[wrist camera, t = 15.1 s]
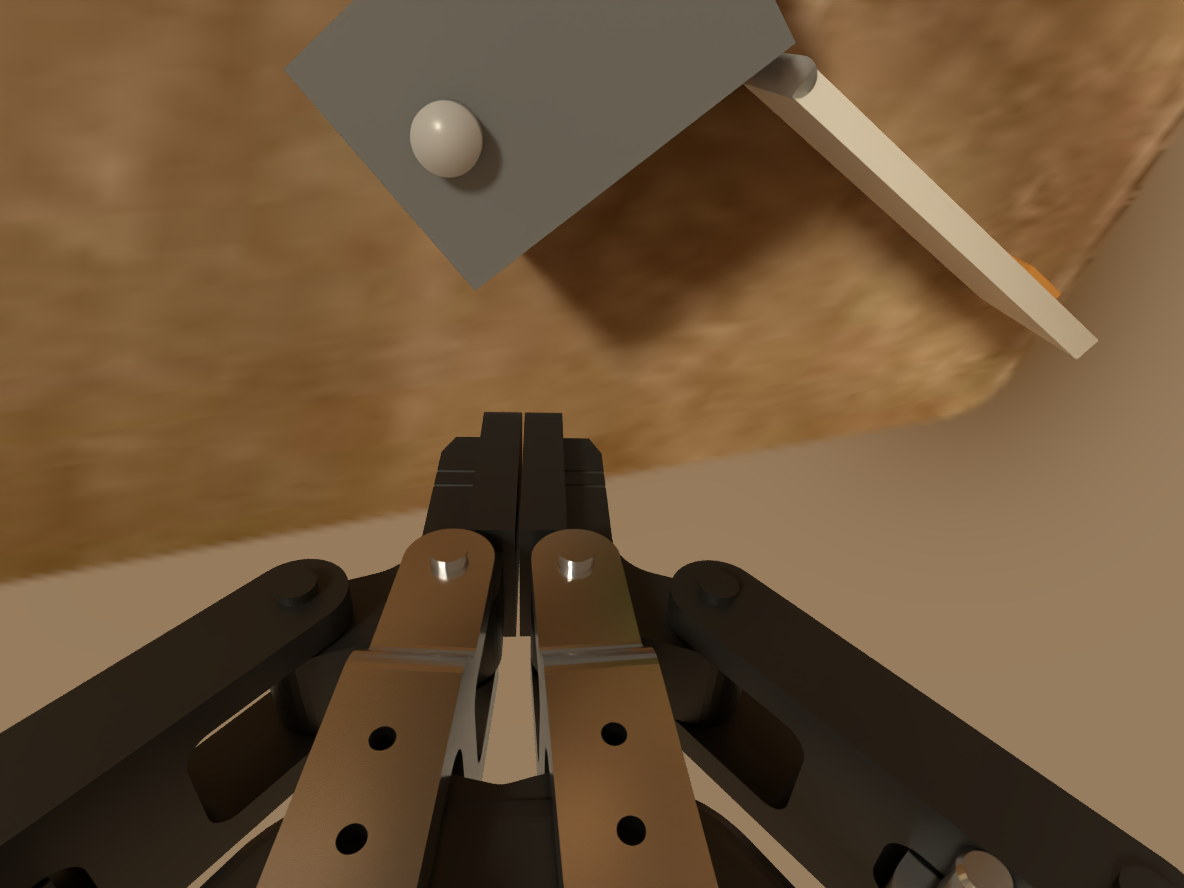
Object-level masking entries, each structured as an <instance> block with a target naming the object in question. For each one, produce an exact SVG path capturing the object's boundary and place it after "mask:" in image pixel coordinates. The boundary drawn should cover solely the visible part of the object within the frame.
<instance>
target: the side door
mask: <svg viewBox="0 0 1184 888" xmlns="http://www.w3.org/2000/svg"><path fill="white" fill-rule="evenodd" d="M743 85H744V86H746V87H747V88H748V89H749V90H750V91H751V92H752V93H753V94H754V95H756V96H757V97H758V98H759V99H760V100H761V101H762V102H763V103H764V104H765V105H767V106H768V107H769V108H770V109H771V110H772V111H773V112H774V113H775V114H777V115H778V116H779V117H780V118H781V119H782V120H783V121H784V122H785V123H787V124H788V125H789V126H790V127H791V128H792V129H793V130H794V131H795V132H797V133H798V134H799V135H800V136H801V137H802V138H803V139H804V140H805V141H807V142H808V143H809V144H810V145H811V146H812V147H813V148H814V149H815V150H817V151H818V152H819V153H820V154H821V155H822V156H823V157H824V158H825V159H827V160H828V161H829V162H830V163H831V164H832V165H833V166H834V167H835V168H837V169H838V170H839V171H840V172H841V173H842V174H843V175H844V176H845V177H846V178H848V179H849V180H850V181H851V182H852V183H853V184H854V185H855V186H856V187H858V188H859V189H860V190H861V191H862V192H863V193H864V194H865V195H866V196H868V197H869V198H870V199H871V200H872V201H873V202H874V203H875V204H876V205H878V206H879V207H880V208H881V209H882V210H883V211H884V212H885V213H886V214H888V215H889V216H890V217H891V218H892V219H893V220H894V221H895V222H896V223H898V224H899V225H900V226H901V227H902V228H903V229H904V230H905V231H906V232H908V233H909V234H910V235H911V236H912V237H913V238H914V239H915V240H916V241H917V242H919V243H920V244H921V245H922V246H923V247H924V248H925V249H926V250H927V251H929V252H930V253H931V254H932V255H933V256H934V257H935V258H936V259H937V260H939V261H940V262H941V263H942V264H943V265H944V266H945V267H946V268H947V269H949V270H950V271H951V272H952V273H953V274H954V275H955V276H956V277H957V278H959V279H960V280H961V281H962V282H963V283H964V284H965V285H966V286H967V287H969V288H970V289H971V290H972V291H973V292H974V293H975V294H976V295H977V296H979V297H980V298H981V299H982V300H984V301H985V302H987V303H988V304H990V305H992V306H993V307H995V308H996V309H998V310H999V311H1001V312H1003V313H1004V314H1006V315H1007V316H1009V317H1010V318H1012V319H1014V320H1015V321H1017V322H1018V323H1020V324H1021V325H1023V326H1025V327H1026V328H1028V329H1029V330H1031V331H1032V332H1034V333H1035V334H1037V335H1039V336H1040V337H1042V338H1043V339H1045V340H1046V341H1048V342H1050V343H1051V344H1053V345H1054V346H1056V347H1057V348H1059V349H1061V350H1062V351H1064V352H1065V353H1067V354H1068V355H1070V356H1072V357H1073V358H1075V359H1076V360H1077V359H1078V358H1079V357H1080V356H1082V355H1083V354H1084V353H1085V352H1086V351H1087V350H1088V349H1090V348H1091V347H1092V346H1093V345H1094V344H1095V343H1097V342H1098V339H1097V338H1096V337H1095V336H1094V335H1093V334H1092V333H1091V332H1090V331H1089V330H1088V329H1086V328H1085V327H1084V326H1083V325H1082V324H1081V323H1080V322H1079V321H1078V320H1077V319H1076V318H1075V317H1074V316H1073V315H1072V314H1071V313H1070V312H1069V311H1068V310H1067V309H1066V308H1065V307H1064V306H1063V305H1062V304H1060V303H1059V302H1058V301H1057V300H1056V299H1057V298H1058V297H1059V296H1060V295H1061V293H1060V292H1059V291H1058V290H1057V289H1056V288H1055V287H1054V286H1053V285H1052V284H1051V283H1050V282H1049V281H1048V280H1047V279H1046V278H1045V277H1044V276H1043V275H1042V274H1041V273H1040V272H1039V271H1038V270H1037V269H1036V268H1035V267H1034V266H1032V265H1030V264H1028V263H1026V262H1024V261H1022V260H1020V259H1018V258H1016V257H1014V256H1012V255H1010V254H1008V253H1007V252H1006V251H1005V250H1004V249H1003V248H1002V247H1001V246H1000V245H999V244H998V243H997V242H996V241H995V240H994V239H993V238H992V237H991V236H990V235H989V234H988V233H987V232H986V231H985V230H984V229H982V228H981V227H980V226H979V225H978V224H977V223H976V222H975V221H974V220H973V219H972V218H971V217H970V216H969V215H968V214H967V213H966V212H965V211H964V210H963V209H962V208H961V207H960V206H959V205H957V204H956V203H955V202H954V201H953V200H952V199H951V198H950V197H949V196H948V195H947V194H946V193H945V192H944V191H943V190H942V189H941V188H940V187H939V186H938V185H937V184H936V183H935V182H934V181H933V180H931V179H930V178H929V177H928V176H927V175H926V174H925V173H924V172H923V171H922V170H921V169H920V168H919V167H918V166H917V165H916V164H915V163H914V162H913V161H912V160H911V159H910V158H909V157H908V156H907V155H905V154H904V153H903V152H902V151H901V150H900V149H899V148H898V147H897V146H896V145H895V144H894V143H893V142H892V141H891V140H890V139H889V138H888V137H887V136H886V135H885V134H884V133H883V132H882V131H881V130H879V129H878V128H877V127H876V126H875V125H874V124H873V123H872V122H871V121H870V120H869V119H868V118H867V117H866V116H865V115H864V114H863V113H862V112H861V111H860V110H859V109H858V108H857V107H856V106H855V105H853V104H852V103H851V102H850V101H849V100H848V99H847V98H846V97H845V96H844V95H843V94H842V93H841V92H840V91H839V90H838V89H837V88H836V87H835V86H834V85H833V84H832V83H831V82H830V81H828V80H827V79H826V78H825V77H824V76H823V75H822V74H821V73H820V72H819V71H818V70H817V67H816V64H815V62H814V61H813V60H812V59H811V58H809V57H807V56H804V55H796V54H789V53H782V54H781V55H780V56H778V57H777V58H776V59H774V60H773V61H772V62H771V63H769V64H768V65H767V66H765V67H764V68H763V69H761V70H760V71H759V72H758V73H756V74H755V75H754V76H752V77H751V78H750V79H748V80H747V81H746V82H745V83H743Z"/></svg>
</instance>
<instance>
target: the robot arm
mask: <svg viewBox="0 0 1184 888" xmlns="http://www.w3.org/2000/svg"><path fill="white" fill-rule="evenodd" d="M603 472H604V470H603V462H602V454H601V453H600V451H599V450H598V449H597V448H596V447H595V445H594V444H593V443H592V442H591V441H590V439H580V438H563V422H562V413H526V412H525V423H524V444H523V464H522V413H518V412H484V416H483V423H482V430H481V436H480V437H456V438H455V439H454V440H453V441H452V442H451V443H450V444H449V445H448V446H447V447H446V448H445V449H444V450H443V451H442V452H441V457H440V461H439V465H438V473H437V474H436V478H435V483H434V487H433V491H432V496H431V500H430V504H429V509H428V513H427V517H426V522H425V526H424V531H423V535H422V537H420V538H419V539H417V540H415V541H414V542H413V543H412V544H411V545H410V546H409V547H408V548H407V550H406V551H405V553H404V556H403V558H402V561H401V563H400V564H399V565H397V566H395V567H393V568H391V569H388V570H386V571H383V572H380V573H376V574H372V575H368V576H364V577H360V578H355V579H351V580H348V579H347V576H346V574H345V572H344V571H343V570H342V569H341V568H340V567H339V566H337V565H335V564H333V563H331V562H328V561H325V560H319V559H303V560H297V561H291V562H288V563H285V564H282V565H279V566H277V567H275V568H273V569H271V570H269V571H267V572H265V573H264V574H262V575H260V576H259V577H257V578H256V579H254V580H252V581H251V582H249V583H247V584H246V585H244V586H242V587H241V588H239V589H237V590H236V591H234V592H232V593H231V594H229V595H227V596H226V597H224V598H223V599H221V600H219V601H218V602H216V603H214V604H213V605H211V606H209V607H208V608H206V609H204V610H203V611H201V612H199V613H198V614H196V615H195V616H193V617H191V618H190V619H188V620H186V621H185V622H183V623H181V624H180V625H178V626H176V627H175V628H173V629H171V630H170V631H168V632H167V633H165V634H163V635H162V636H160V637H159V638H157V639H155V640H153V641H152V642H150V643H148V644H147V645H145V646H143V647H142V648H140V649H138V650H137V651H135V652H134V653H132V654H130V655H129V656H127V657H125V658H124V659H122V660H120V661H119V662H117V663H115V664H114V665H113V666H111V667H109V668H107V669H106V670H104V671H103V672H101V673H99V674H97V675H96V676H94V677H92V678H91V679H89V680H87V681H86V682H84V683H82V684H81V685H79V686H78V687H76V688H74V689H73V690H71V691H69V692H68V693H66V694H65V695H63V696H61V697H59V698H58V699H56V700H55V701H53V702H51V703H49V704H48V705H46V706H45V707H43V708H41V709H40V710H38V711H36V712H35V713H33V714H31V715H30V716H28V717H26V718H25V719H23V720H21V721H20V722H18V723H16V724H15V725H13V726H12V727H10V728H8V729H7V730H5V731H3V732H2V733H0V888H187V887H188V886H189V885H190V884H191V883H192V882H193V881H195V880H196V879H197V878H198V877H199V876H200V875H201V874H203V873H204V872H205V871H206V870H207V869H208V868H209V867H210V866H212V865H213V864H214V863H215V862H216V861H217V860H218V859H219V858H221V857H222V856H223V855H224V854H225V853H226V852H227V851H229V850H230V849H231V848H232V847H233V846H234V845H235V844H236V843H238V841H240V840H241V839H242V838H243V837H244V836H245V835H247V834H248V833H249V832H250V831H251V830H252V829H253V828H254V827H256V826H257V825H258V824H259V823H260V822H261V821H262V820H264V819H265V818H266V817H267V816H268V815H269V814H270V813H271V812H273V811H274V810H275V809H276V808H277V807H278V806H279V805H280V804H282V803H283V802H284V801H285V800H286V799H287V798H288V797H290V796H291V795H292V794H293V793H294V794H293V796H292V799H291V801H290V804H289V806H288V809H287V811H286V814H285V816H284V818H282V819H281V820H279V821H278V822H276V823H274V824H273V825H271V826H270V827H268V828H266V829H265V830H264V831H263V832H261V833H260V834H259V835H257V836H256V837H255V838H254V839H252V840H251V841H250V842H248V843H247V844H246V845H245V846H244V847H243V848H241V849H240V850H239V851H238V852H237V853H236V854H235V855H234V856H233V857H232V858H231V859H230V860H229V861H227V862H226V864H224V865H223V866H222V867H221V868H220V869H219V870H218V871H217V872H216V873H215V874H214V875H213V876H211V877H210V878H209V879H208V880H207V881H206V882H205V883H204V884H203V885H202V886H201V887H200V888H795V887H794V886H793V885H792V884H791V883H790V882H789V881H788V880H787V879H786V878H785V877H784V876H783V874H782V873H781V872H780V871H779V870H778V869H777V868H776V867H775V866H774V865H773V864H772V863H771V862H770V861H769V860H768V859H767V858H766V857H765V856H764V855H763V854H762V853H761V852H760V850H759V849H758V848H757V847H756V846H755V845H754V844H753V843H752V842H751V841H750V840H749V839H748V838H747V837H746V836H745V835H744V834H743V833H742V832H741V831H740V830H739V829H738V828H736V827H735V826H734V825H733V824H731V823H730V822H729V821H728V820H727V819H725V818H724V817H723V816H722V815H720V814H719V813H717V812H716V811H714V810H713V809H711V808H710V807H708V806H706V805H705V804H703V803H701V802H699V801H697V800H695V797H694V794H693V790H692V786H691V782H690V778H689V775H688V771H687V768H686V763H685V759H684V756H683V752H684V753H685V754H687V756H688V757H690V758H691V759H692V760H693V761H694V762H695V763H696V764H697V765H698V766H699V767H700V768H701V769H702V770H703V771H704V772H705V773H706V774H707V775H708V776H709V777H710V778H712V779H713V780H714V781H715V782H716V783H717V784H718V785H719V786H720V787H721V788H722V789H723V790H724V791H725V792H726V793H727V794H728V795H730V796H731V798H732V799H734V800H735V801H736V802H737V803H738V804H739V805H740V806H741V807H742V808H743V809H744V810H745V811H746V812H747V813H748V814H749V815H750V816H752V818H754V820H756V821H757V822H758V823H759V824H760V825H761V826H762V827H763V828H764V829H765V830H766V831H767V832H768V833H769V834H770V835H771V836H772V837H773V838H774V839H776V841H777V842H779V843H780V844H781V845H782V846H783V847H784V848H785V849H786V850H787V851H788V852H789V853H790V854H791V855H792V856H793V857H794V858H795V859H796V860H797V861H798V862H799V863H801V864H802V865H803V866H804V867H805V868H806V869H807V870H808V871H809V872H810V873H811V874H812V875H813V876H814V877H815V878H816V879H817V880H818V881H819V882H820V883H821V884H823V885H824V886H825V887H826V888H1184V874H1183V873H1181V872H1180V871H1179V870H1178V869H1177V868H1176V867H1174V866H1173V865H1172V864H1170V863H1169V862H1167V861H1166V860H1165V859H1164V858H1162V857H1161V856H1159V855H1158V854H1156V853H1155V852H1153V851H1152V850H1150V849H1149V848H1147V847H1146V846H1144V845H1143V844H1142V843H1140V842H1139V841H1137V840H1136V839H1134V838H1133V837H1131V836H1130V835H1129V834H1127V833H1126V832H1124V831H1123V830H1121V829H1120V828H1118V827H1117V826H1115V825H1114V824H1113V823H1111V822H1110V821H1108V820H1107V819H1105V818H1104V817H1102V816H1101V815H1099V814H1098V813H1096V812H1095V811H1094V810H1092V809H1091V808H1089V807H1088V806H1086V805H1085V804H1083V803H1082V802H1080V801H1079V800H1078V799H1076V798H1075V797H1073V796H1072V795H1070V794H1069V793H1067V792H1066V791H1064V790H1063V789H1062V788H1060V787H1058V786H1057V785H1056V784H1054V783H1053V782H1051V781H1050V780H1048V779H1047V778H1046V777H1044V776H1042V775H1041V774H1040V773H1038V772H1037V771H1035V770H1034V769H1032V768H1031V767H1030V766H1028V765H1026V764H1025V763H1024V762H1022V761H1020V760H1019V759H1018V758H1016V757H1015V756H1013V755H1012V754H1010V753H1009V752H1008V751H1006V750H1005V749H1003V748H1002V747H1000V746H999V745H997V744H996V743H994V742H993V741H992V740H990V739H989V738H987V737H986V736H984V735H983V734H981V733H980V732H979V731H977V730H976V729H974V728H973V727H971V726H970V725H968V724H967V723H965V722H964V721H962V720H961V719H959V718H958V717H956V716H955V715H954V714H952V713H951V712H949V711H948V710H946V709H945V708H944V707H942V706H941V705H939V704H938V703H936V702H935V701H933V700H932V699H930V698H929V697H928V696H926V695H925V694H923V693H922V692H920V691H919V690H917V689H916V688H914V687H913V686H912V685H910V684H909V683H907V682H906V681H904V680H903V679H901V678H900V677H898V676H897V675H895V674H894V673H892V672H891V671H890V670H888V669H886V668H885V667H884V666H882V665H881V664H880V663H878V662H877V661H875V660H874V659H872V658H871V657H869V656H868V655H866V654H865V653H864V652H862V651H861V650H859V649H858V648H856V647H855V646H853V645H852V644H850V643H849V642H847V641H846V640H845V639H843V638H842V637H840V636H839V635H837V634H836V633H834V632H833V631H831V630H830V629H829V628H827V627H825V626H824V625H823V624H821V623H820V622H818V621H817V620H815V619H814V618H813V617H811V616H810V615H808V614H807V613H805V612H804V611H802V610H801V609H799V608H798V607H797V606H795V605H794V604H792V603H791V602H789V601H788V600H786V599H785V598H783V597H782V596H780V595H779V594H778V593H776V592H775V591H773V590H772V589H770V588H769V587H767V586H766V585H764V584H763V583H761V582H760V581H758V580H757V579H756V578H754V577H753V576H751V575H750V574H748V573H747V572H745V571H744V570H742V569H740V568H738V567H736V566H734V565H731V564H728V563H725V562H720V561H711V560H707V561H697V562H693V563H690V564H687V565H686V566H683V567H682V568H681V569H679V570H678V571H677V572H676V574H675V575H674V577H673V578H670V577H666V576H662V575H658V574H654V573H650V572H647V571H644V570H642V569H639V568H637V567H635V566H633V565H632V564H630V563H629V562H628V561H626V560H625V559H624V558H623V557H622V556H621V555H620V554H619V551H618V549H617V548H616V547H615V545H614V544H613V541H612V534H611V527H610V519H609V510H608V502H607V494H606V488H605V478H604V474H603ZM519 560H520V636H531V693H532V707H533V720H534V734H535V735H534V736H535V748H536V749H535V750H536V764H537V776H534V777H530V778H527V779H523V780H520V781H516V782H513V783H509V784H502V785H501V784H492V783H487V782H483V781H482V778H483V771H484V764H485V758H486V752H487V746H488V740H489V733H490V727H491V721H492V714H493V708H494V702H495V696H496V690H497V684H498V666H499V663H500V661H501V656H502V645H503V636H504V637H511V636H512V637H515V636H516V624H517V623H516V622H517V603H518V581H519ZM268 689H270V690H271V692H269V693H268V694H267V695H265V696H264V697H263V698H261V699H260V700H259V701H257V702H256V703H255V704H253V705H252V706H251V707H249V708H248V709H247V710H245V711H244V712H243V713H241V714H240V715H239V716H237V717H236V718H234V719H233V720H232V721H231V722H229V723H228V724H226V725H225V726H224V727H223V728H221V729H220V730H219V731H217V732H216V733H214V734H213V735H212V736H210V737H209V738H208V739H206V740H205V741H204V742H202V743H201V744H200V745H198V743H199V742H200V741H201V740H202V739H203V738H204V737H205V736H206V735H208V734H209V733H210V732H211V731H213V730H214V729H216V728H217V727H218V726H220V725H221V724H222V723H224V722H225V721H226V720H228V719H229V718H231V717H232V716H233V715H235V714H236V713H237V712H239V711H240V710H241V709H243V708H244V707H245V706H247V705H248V704H249V703H251V702H252V701H253V700H255V699H256V698H258V697H259V696H260V695H261V694H263V693H264V692H266V691H267V690H268ZM197 745H198V746H197ZM196 746H197V747H196ZM195 747H196V748H195ZM682 751H683V752H682Z"/></svg>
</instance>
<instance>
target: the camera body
mask: <svg viewBox="0 0 1184 888" xmlns="http://www.w3.org/2000/svg"><path fill="white" fill-rule="evenodd" d="M795 43H796V42H795V40H794V38H793V36H792V34H791V32H790V30H789V27H788V25H787V23H786V21H785V19H784V17H783V15H782V13H781V11H780V9H779V7H778V5H777V3H776V1H775V0H354V1H353V2H352V3H351V4H350V5H349V6H348V7H346V8H345V9H344V10H343V11H342V12H341V13H340V14H339V15H338V16H337V17H336V18H335V19H334V20H333V21H332V22H331V23H330V24H329V25H328V26H327V27H326V28H325V29H324V30H323V31H322V32H321V33H320V34H319V35H318V36H317V37H316V38H315V39H314V40H313V41H312V42H311V43H310V44H309V45H308V46H307V47H306V48H305V49H304V50H303V51H302V52H301V53H300V54H299V55H298V56H297V57H296V58H295V59H294V60H293V61H292V62H291V63H290V64H289V65H287V66H286V67H285V68H284V71H285V72H286V73H287V74H288V75H289V76H290V78H291V79H292V80H293V81H294V82H295V83H296V84H297V86H298V87H299V88H300V89H301V90H302V91H303V93H304V94H305V95H306V96H307V97H308V98H309V99H310V101H311V102H312V103H313V104H314V105H315V106H316V108H317V109H318V110H319V111H320V112H321V113H322V115H323V116H324V117H325V118H326V119H327V120H328V121H329V123H330V124H331V125H332V126H333V127H334V128H335V130H336V131H337V132H338V133H339V134H340V135H341V136H342V138H343V139H344V140H345V141H346V142H347V143H348V145H349V146H350V147H351V148H352V149H353V150H354V151H355V153H356V154H357V155H358V156H359V157H360V158H361V160H362V161H363V162H364V163H365V164H366V165H367V167H368V168H369V169H370V170H371V171H372V172H373V173H374V175H375V176H376V177H377V178H378V179H379V180H380V182H381V183H382V184H383V185H384V186H385V187H386V188H387V190H388V191H389V192H390V193H391V194H392V195H393V197H394V198H395V199H396V200H397V201H398V202H399V204H400V205H401V206H402V207H403V208H404V209H405V210H406V212H407V213H408V214H409V215H410V216H411V217H412V219H413V220H414V221H415V222H416V223H417V224H418V225H419V227H420V228H421V229H422V230H423V231H424V232H425V234H426V235H427V236H428V237H429V238H430V239H431V240H432V242H433V243H434V244H435V245H436V246H437V247H438V249H439V250H440V251H441V252H442V253H443V254H444V256H445V257H446V258H447V259H448V260H449V261H450V262H451V264H452V265H453V266H454V267H455V268H456V269H457V271H458V272H459V273H460V274H461V275H462V276H463V277H464V279H465V280H466V281H467V282H468V283H469V284H470V286H471V287H472V288H473V289H474V290H477V289H478V288H479V287H481V286H482V285H483V284H484V283H486V282H487V281H488V280H490V279H491V278H492V277H493V276H495V275H496V274H497V273H499V272H500V271H501V270H503V269H504V268H505V267H506V266H508V265H509V264H510V263H512V262H513V261H514V260H515V259H517V258H518V257H519V256H521V255H522V254H523V253H525V252H526V251H527V250H528V249H530V248H531V247H532V246H534V245H535V244H536V243H537V242H539V241H540V240H541V239H543V238H544V237H545V236H547V235H548V234H549V233H550V232H552V231H553V230H554V229H556V228H557V227H558V226H559V225H561V224H562V223H563V222H565V221H566V220H567V219H569V218H570V217H571V216H572V215H574V214H575V213H576V212H578V211H579V210H580V209H581V208H583V207H584V206H585V205H587V204H588V203H589V202H591V201H592V200H593V199H594V198H596V197H597V196H598V195H600V194H601V193H602V192H604V191H605V190H606V189H607V188H609V187H610V186H611V185H613V184H614V183H615V182H616V181H618V180H619V179H620V178H622V177H623V176H624V175H626V174H627V173H628V172H629V171H631V170H632V169H633V168H635V167H636V166H637V165H638V164H640V163H641V162H642V161H644V160H645V159H646V158H648V157H649V156H650V155H651V154H653V153H654V152H655V151H657V150H658V149H659V148H660V147H662V146H663V145H664V144H666V143H667V142H668V141H670V140H671V139H672V138H673V137H675V136H676V135H677V134H679V133H680V132H681V131H682V130H684V129H685V128H686V127H688V126H689V125H690V124H692V123H693V122H694V121H695V120H697V119H698V118H699V117H701V116H702V115H703V114H704V113H706V112H707V111H708V110H710V109H711V108H712V107H714V106H715V105H716V104H717V103H719V102H720V101H721V100H723V99H724V98H725V97H726V96H728V95H729V94H730V93H732V92H733V91H734V90H736V89H737V88H738V87H739V86H741V85H742V84H743V83H745V82H746V81H747V80H748V79H750V78H751V77H752V76H754V75H755V74H756V73H758V72H759V71H760V70H761V69H763V68H764V67H765V66H767V65H768V64H769V63H771V62H772V61H773V60H774V59H776V58H777V57H778V56H780V55H781V54H782V53H783V52H785V51H786V50H787V49H789V48H790V47H791V46H793V45H794V44H795Z"/></svg>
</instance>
